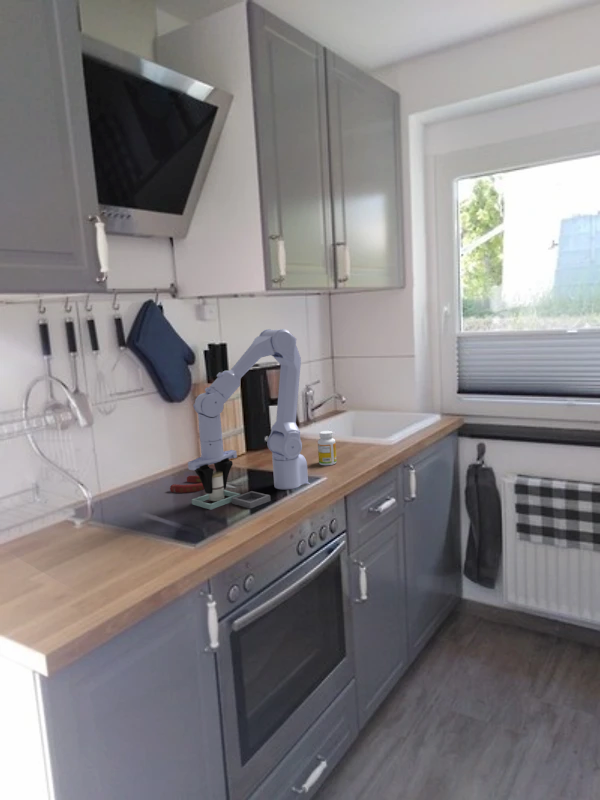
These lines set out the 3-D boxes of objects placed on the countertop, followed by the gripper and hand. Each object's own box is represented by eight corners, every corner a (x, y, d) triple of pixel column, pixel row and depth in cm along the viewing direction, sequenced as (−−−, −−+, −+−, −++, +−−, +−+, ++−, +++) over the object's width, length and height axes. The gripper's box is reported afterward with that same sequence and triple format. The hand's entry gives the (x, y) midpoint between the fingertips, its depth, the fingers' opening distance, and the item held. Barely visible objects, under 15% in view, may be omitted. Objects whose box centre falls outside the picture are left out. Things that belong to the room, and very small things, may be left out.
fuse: (217, 495, 154) (215, 469, 153) (227, 497, 152) (225, 471, 151) (205, 499, 151) (203, 473, 150) (216, 502, 149) (214, 475, 148)
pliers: (231, 497, 158) (231, 488, 158) (168, 494, 165) (167, 485, 165) (249, 485, 169) (249, 476, 169) (189, 482, 176) (188, 474, 176)
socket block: (252, 498, 154) (251, 491, 154) (270, 503, 150) (270, 495, 149) (232, 506, 149) (231, 498, 149) (250, 511, 145) (250, 503, 144)
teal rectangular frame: (222, 496, 158) (221, 489, 158) (241, 501, 153) (240, 493, 153) (192, 507, 151) (191, 499, 151) (210, 512, 146) (210, 504, 145)
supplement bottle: (329, 460, 189) (328, 429, 188) (340, 463, 185) (338, 431, 183) (315, 463, 186) (313, 432, 185) (325, 466, 182) (323, 434, 180)
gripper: (222, 432, 157) (227, 481, 159) (178, 443, 147) (183, 495, 149) (240, 435, 153) (244, 485, 155) (195, 446, 142) (200, 500, 144)
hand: (215, 490), depth 151 cm, fingers closed on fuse, 4 cm apart
